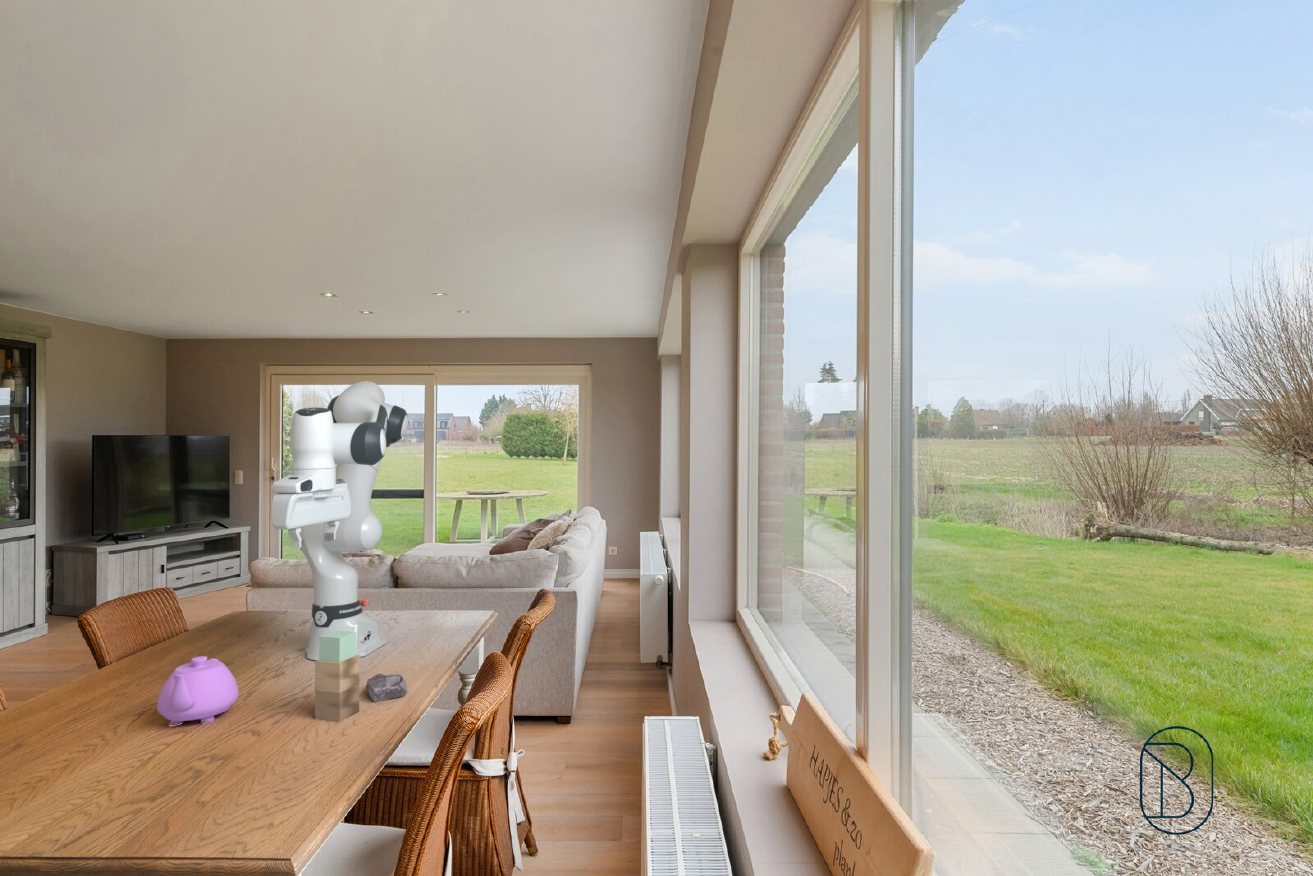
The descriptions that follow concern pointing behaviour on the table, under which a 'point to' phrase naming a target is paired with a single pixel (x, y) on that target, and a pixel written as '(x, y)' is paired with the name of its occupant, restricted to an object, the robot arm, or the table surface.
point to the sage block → (337, 646)
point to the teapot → (197, 691)
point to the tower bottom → (336, 704)
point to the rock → (386, 687)
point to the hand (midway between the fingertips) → (314, 544)
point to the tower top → (336, 675)
